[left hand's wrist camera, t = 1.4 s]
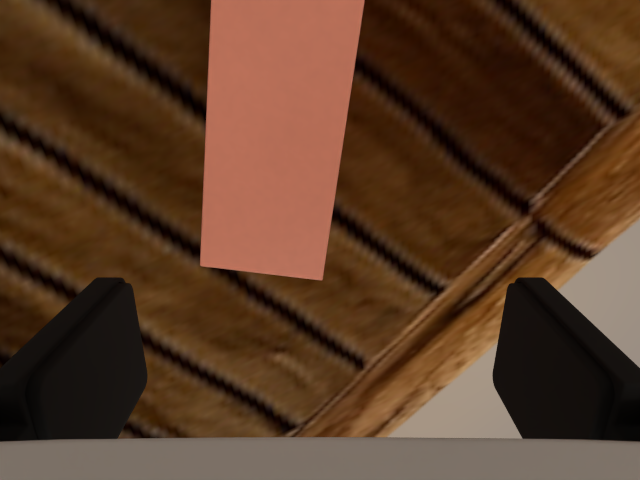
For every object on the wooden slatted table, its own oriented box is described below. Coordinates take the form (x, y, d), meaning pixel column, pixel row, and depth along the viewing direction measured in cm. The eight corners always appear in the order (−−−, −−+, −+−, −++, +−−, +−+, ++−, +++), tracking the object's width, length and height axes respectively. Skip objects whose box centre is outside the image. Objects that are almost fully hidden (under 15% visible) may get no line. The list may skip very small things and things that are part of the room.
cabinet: (254, -128, 24) (220, -235, 16) (368, -109, 25) (395, -204, 16) (231, 213, 31) (199, 266, 23) (320, 224, 32) (322, 280, 23)
